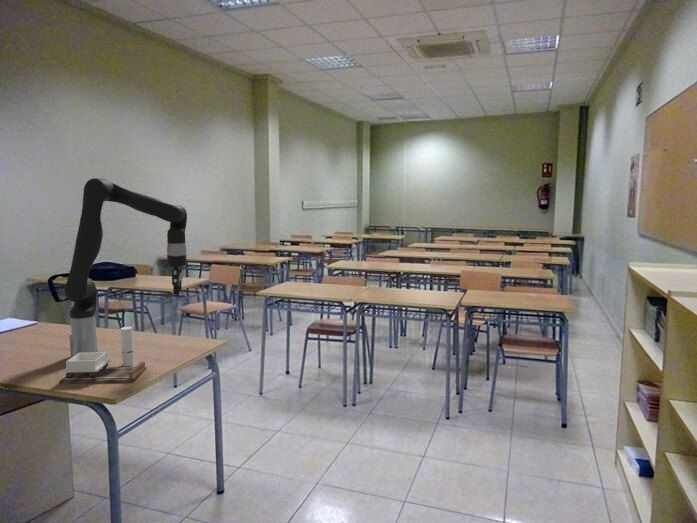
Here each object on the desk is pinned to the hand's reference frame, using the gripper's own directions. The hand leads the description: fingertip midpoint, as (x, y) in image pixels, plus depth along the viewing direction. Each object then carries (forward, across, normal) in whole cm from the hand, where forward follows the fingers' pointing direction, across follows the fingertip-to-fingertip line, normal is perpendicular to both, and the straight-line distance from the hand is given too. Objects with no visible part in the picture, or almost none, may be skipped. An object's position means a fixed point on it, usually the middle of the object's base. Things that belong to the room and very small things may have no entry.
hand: (177, 292), depth 207 cm
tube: (+28, +7, -18) cm, 34 cm away
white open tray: (+26, +18, -30) cm, 44 cm away
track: (+28, +19, -24) cm, 42 cm away
